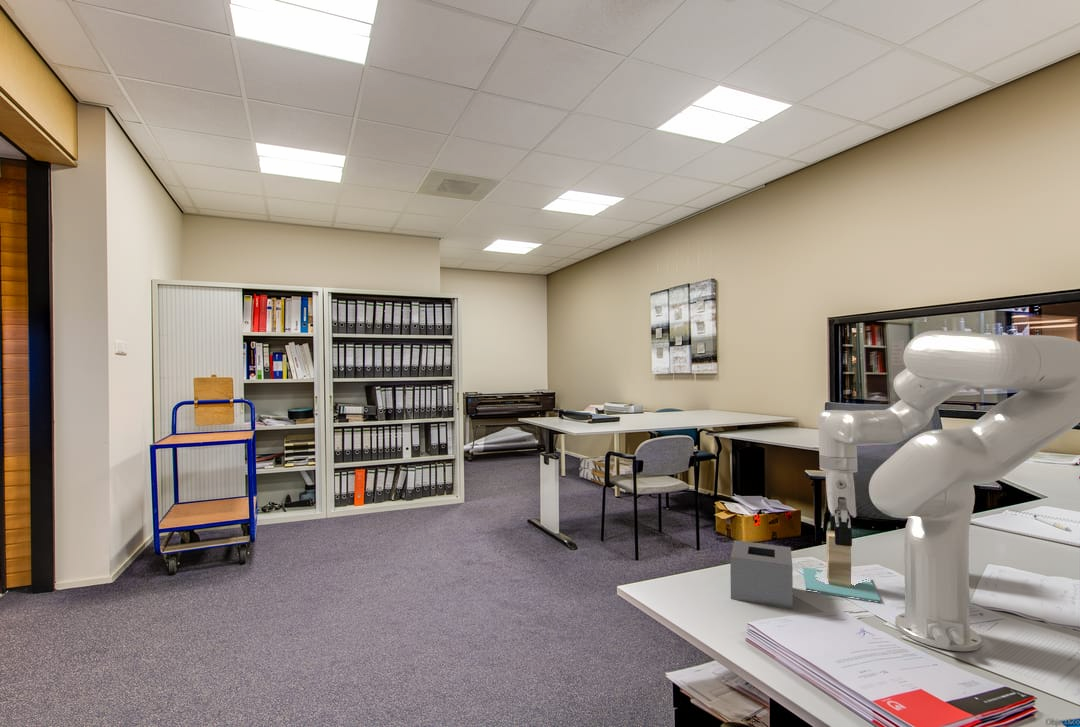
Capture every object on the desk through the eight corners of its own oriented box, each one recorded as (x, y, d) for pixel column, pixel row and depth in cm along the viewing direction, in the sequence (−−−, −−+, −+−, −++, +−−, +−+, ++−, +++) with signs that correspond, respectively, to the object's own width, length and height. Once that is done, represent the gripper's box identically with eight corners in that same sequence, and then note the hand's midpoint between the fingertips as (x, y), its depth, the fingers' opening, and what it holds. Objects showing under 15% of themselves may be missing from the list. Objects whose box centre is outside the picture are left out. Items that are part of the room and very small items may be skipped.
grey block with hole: (792, 609, 105) (792, 565, 105) (730, 598, 110) (730, 556, 110) (790, 587, 116) (790, 547, 116) (734, 578, 121) (734, 540, 121)
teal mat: (880, 603, 108) (880, 600, 108) (806, 591, 114) (806, 588, 114) (869, 579, 120) (869, 576, 120) (802, 569, 126) (802, 567, 126)
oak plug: (851, 587, 114) (850, 538, 114) (828, 584, 116) (828, 535, 116) (848, 580, 118) (848, 532, 118) (826, 577, 120) (826, 530, 120)
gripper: (863, 470, 108) (866, 552, 107) (851, 460, 124) (854, 531, 123) (822, 468, 111) (825, 548, 110) (816, 458, 127) (819, 528, 126)
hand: (840, 539), depth 116 cm, fingers open, 9 cm apart
